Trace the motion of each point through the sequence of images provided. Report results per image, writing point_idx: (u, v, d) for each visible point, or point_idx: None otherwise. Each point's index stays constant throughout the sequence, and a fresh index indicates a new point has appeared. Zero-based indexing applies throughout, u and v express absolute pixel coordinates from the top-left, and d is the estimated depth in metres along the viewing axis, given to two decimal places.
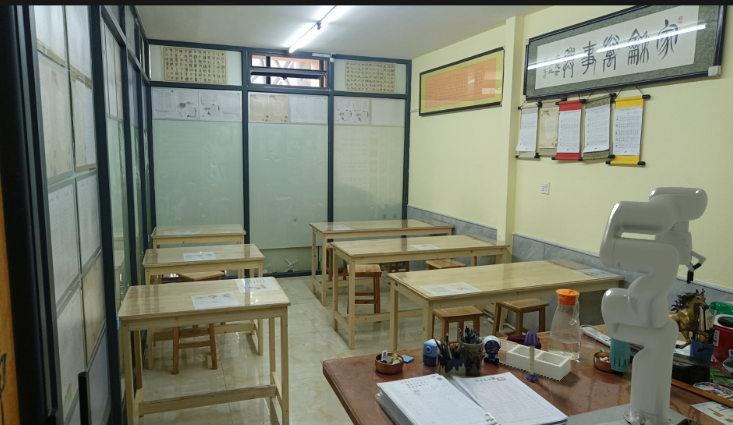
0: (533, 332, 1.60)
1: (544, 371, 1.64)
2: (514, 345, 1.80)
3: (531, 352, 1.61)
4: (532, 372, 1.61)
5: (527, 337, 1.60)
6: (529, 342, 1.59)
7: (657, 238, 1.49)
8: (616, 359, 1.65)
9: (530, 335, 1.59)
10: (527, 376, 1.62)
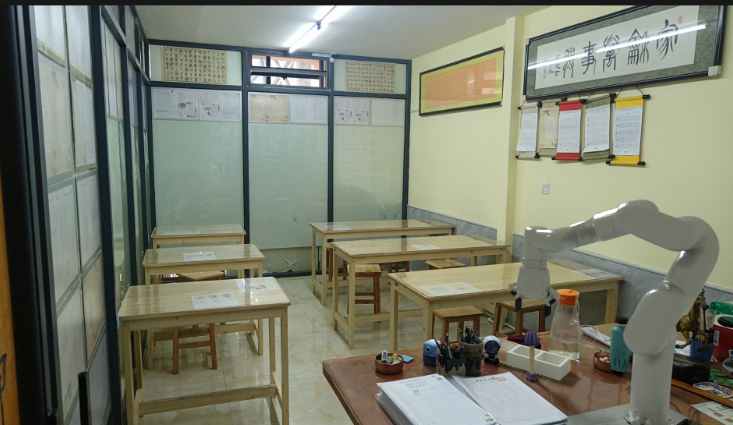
0: (533, 332, 1.60)
1: (544, 371, 1.64)
2: (514, 345, 1.80)
3: (531, 352, 1.61)
4: (532, 372, 1.61)
5: (527, 337, 1.60)
6: (529, 342, 1.59)
7: (520, 274, 1.59)
8: (616, 359, 1.65)
9: (530, 335, 1.59)
10: (527, 376, 1.62)
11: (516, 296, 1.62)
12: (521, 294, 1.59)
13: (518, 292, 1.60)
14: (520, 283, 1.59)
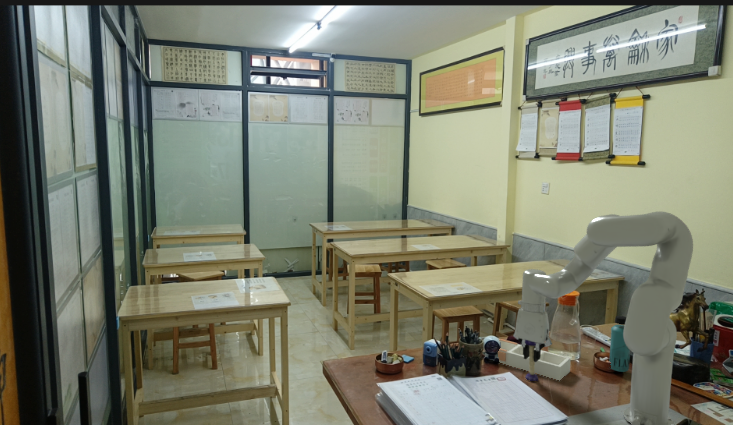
0: None
1: (544, 371, 1.64)
2: (514, 345, 1.80)
3: (531, 352, 1.61)
4: (532, 372, 1.61)
5: None
6: (529, 342, 1.59)
7: (518, 317, 1.61)
8: (616, 359, 1.65)
9: None
10: (527, 376, 1.62)
11: (524, 344, 1.62)
12: (520, 337, 1.61)
13: (517, 335, 1.61)
14: (519, 326, 1.61)
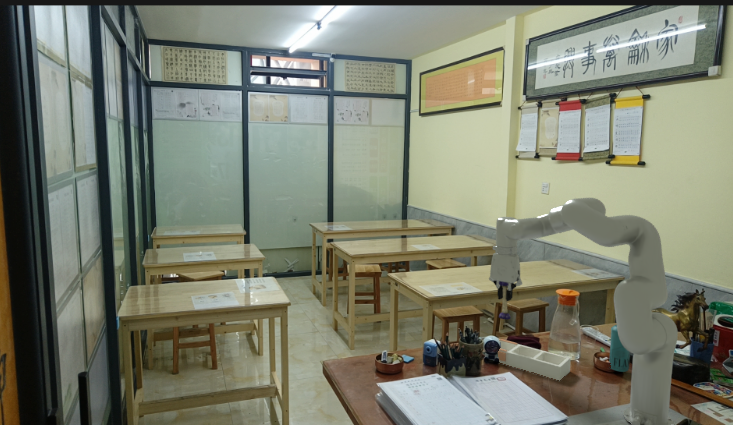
0: None
1: (544, 371, 1.64)
2: (514, 345, 1.80)
3: (504, 292, 1.76)
4: (505, 311, 1.77)
5: None
6: (502, 282, 1.75)
7: (493, 260, 1.76)
8: (616, 359, 1.65)
9: None
10: (500, 314, 1.77)
11: (498, 285, 1.77)
12: (494, 278, 1.76)
13: (492, 277, 1.77)
14: (493, 268, 1.76)
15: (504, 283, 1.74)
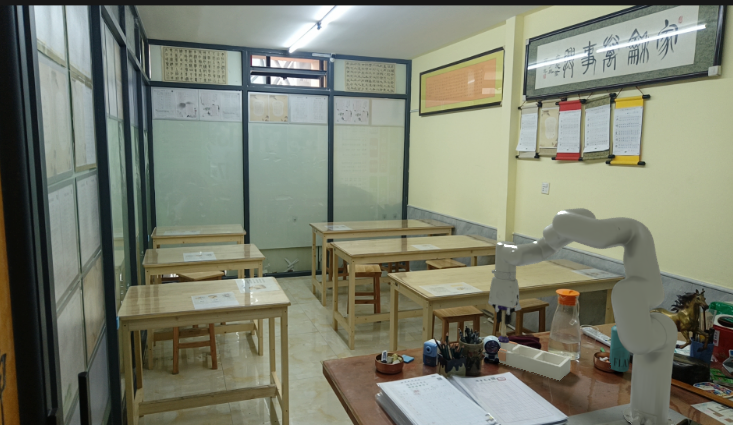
0: None
1: (544, 371, 1.64)
2: (514, 345, 1.80)
3: (503, 316, 1.77)
4: (504, 334, 1.78)
5: None
6: (501, 306, 1.76)
7: (492, 284, 1.77)
8: (616, 359, 1.65)
9: None
10: (499, 338, 1.79)
11: (497, 309, 1.78)
12: (493, 302, 1.77)
13: (491, 301, 1.78)
14: (492, 292, 1.77)
15: (503, 307, 1.76)
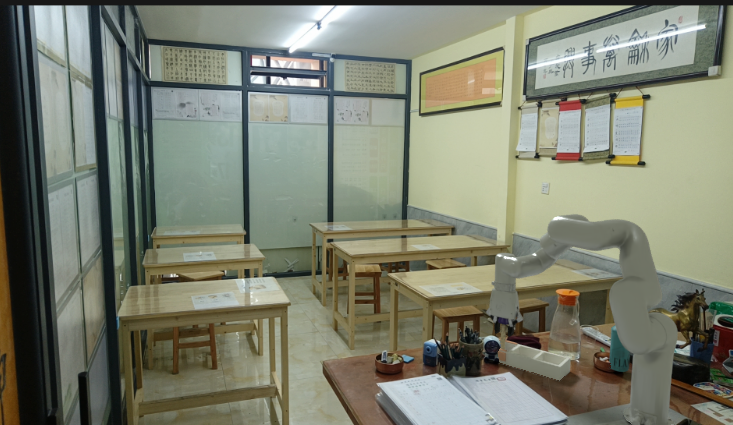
0: None
1: (544, 371, 1.64)
2: (514, 345, 1.80)
3: (503, 330, 1.78)
4: (502, 348, 1.79)
5: None
6: (501, 321, 1.76)
7: (492, 296, 1.78)
8: (616, 359, 1.65)
9: None
10: None
11: (495, 320, 1.79)
12: (493, 314, 1.78)
13: (491, 312, 1.78)
14: (492, 304, 1.78)
15: (503, 322, 1.76)
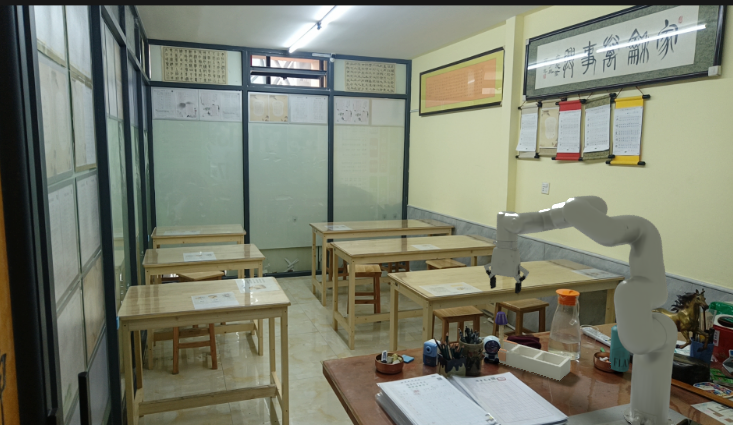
0: (502, 313, 1.78)
1: (544, 371, 1.64)
2: (514, 345, 1.80)
3: (500, 331, 1.78)
4: None
5: (497, 317, 1.77)
6: (498, 321, 1.77)
7: (493, 254, 1.76)
8: (616, 359, 1.65)
9: (500, 316, 1.77)
10: None
11: (490, 275, 1.79)
12: (495, 273, 1.76)
13: (492, 271, 1.77)
14: (494, 262, 1.76)
15: (500, 322, 1.76)
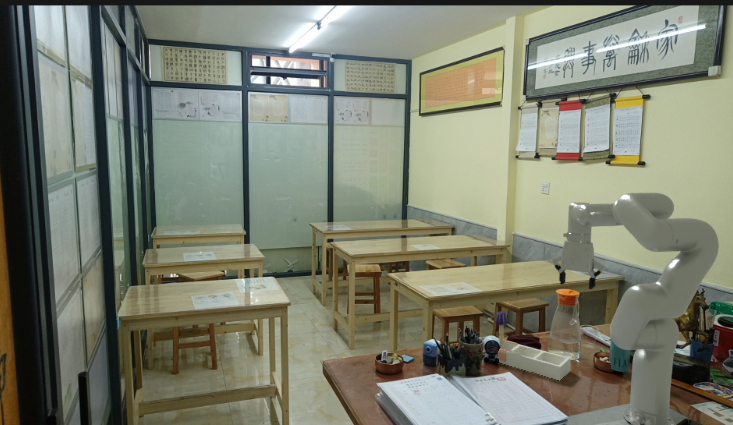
0: (502, 313, 1.78)
1: (544, 371, 1.64)
2: (514, 345, 1.80)
3: (501, 331, 1.78)
4: None
5: (497, 317, 1.78)
6: (498, 321, 1.77)
7: (564, 248, 1.67)
8: (616, 359, 1.65)
9: (500, 315, 1.77)
10: None
11: (560, 270, 1.69)
12: (566, 267, 1.67)
13: (563, 266, 1.67)
14: (565, 257, 1.67)
15: (500, 322, 1.76)
